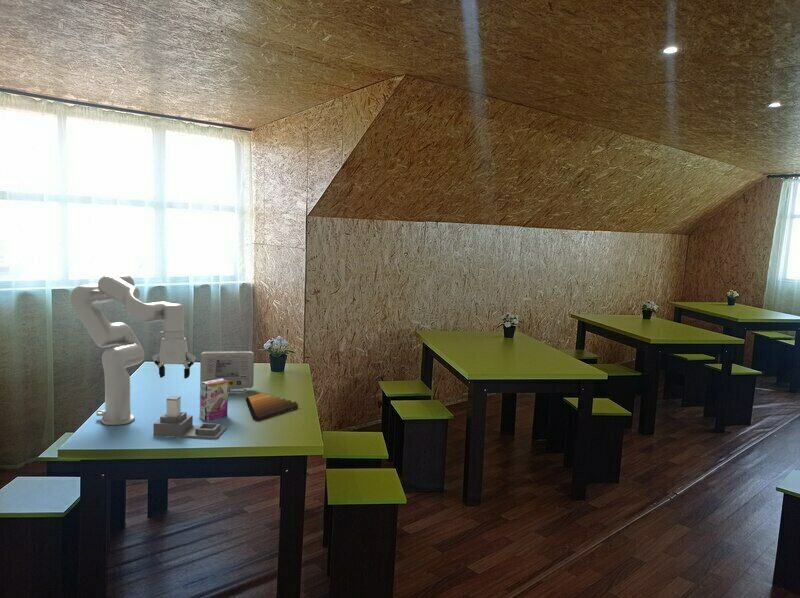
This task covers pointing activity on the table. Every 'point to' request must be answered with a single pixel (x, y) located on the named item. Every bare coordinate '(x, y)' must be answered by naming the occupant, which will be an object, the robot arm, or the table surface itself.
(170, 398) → the plug
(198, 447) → the table surface
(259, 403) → the pan flute
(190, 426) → the stepped socket base
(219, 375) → the network device
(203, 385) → the candy bar box
